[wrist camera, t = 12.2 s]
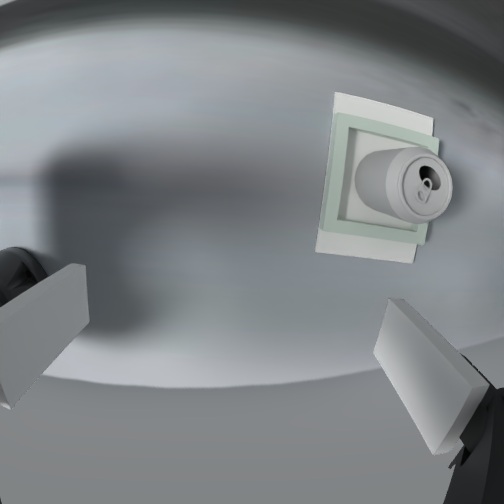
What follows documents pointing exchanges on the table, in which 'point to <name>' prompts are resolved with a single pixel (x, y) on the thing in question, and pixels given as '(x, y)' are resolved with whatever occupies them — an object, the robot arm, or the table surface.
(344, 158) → the green and white tray
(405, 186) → the can
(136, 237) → the table surface
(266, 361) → the table surface
